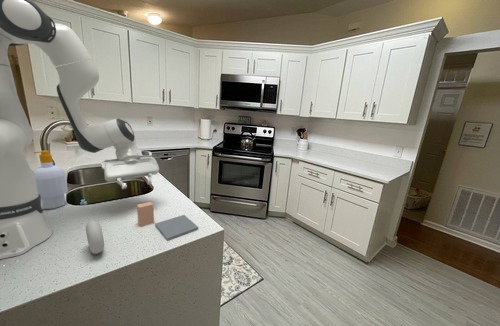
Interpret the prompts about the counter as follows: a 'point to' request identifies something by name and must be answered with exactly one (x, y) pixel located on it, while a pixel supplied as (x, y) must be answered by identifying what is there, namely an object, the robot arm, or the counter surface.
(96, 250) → the donut
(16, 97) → the robot arm
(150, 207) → the block
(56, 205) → the soap bottle
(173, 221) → the coaster
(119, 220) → the counter surface
